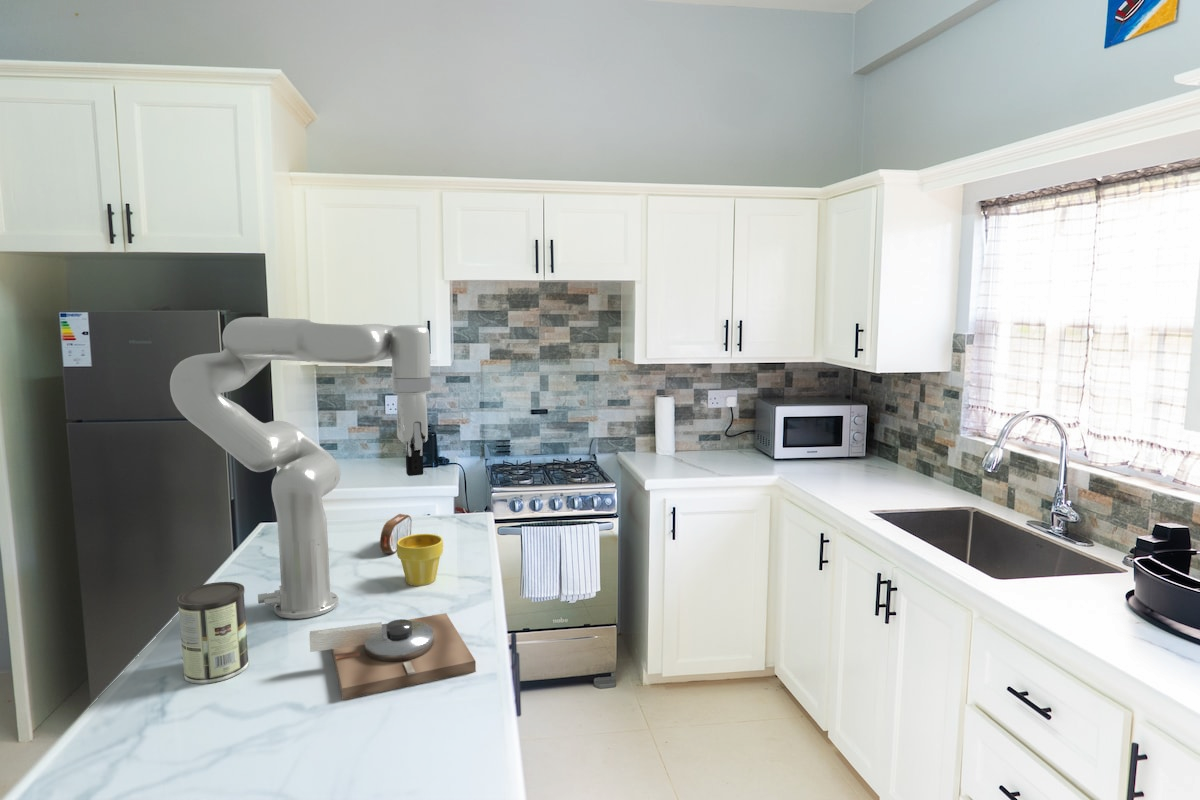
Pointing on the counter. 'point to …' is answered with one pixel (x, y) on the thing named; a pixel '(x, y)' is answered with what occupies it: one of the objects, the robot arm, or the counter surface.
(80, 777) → the counter surface
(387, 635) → the dial
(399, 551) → the plant pot
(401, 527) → the tin
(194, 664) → the coffee can
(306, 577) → the robot arm
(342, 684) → the dial board
